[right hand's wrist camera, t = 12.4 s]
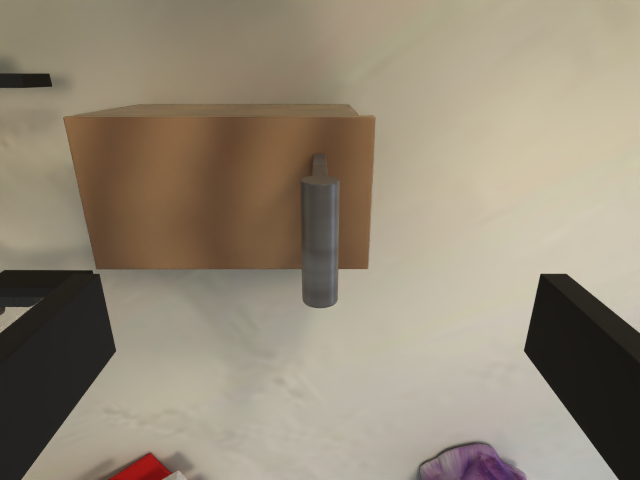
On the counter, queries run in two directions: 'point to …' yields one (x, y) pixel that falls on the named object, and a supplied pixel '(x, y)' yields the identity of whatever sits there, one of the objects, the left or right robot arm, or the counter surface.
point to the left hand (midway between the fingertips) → (63, 191)
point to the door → (228, 193)
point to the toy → (148, 471)
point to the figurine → (470, 465)
